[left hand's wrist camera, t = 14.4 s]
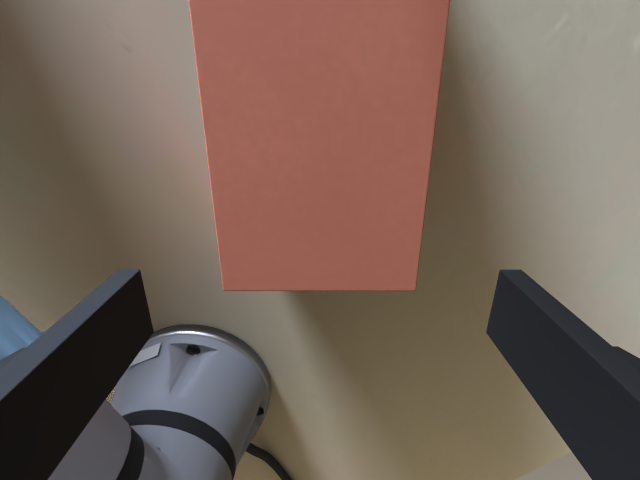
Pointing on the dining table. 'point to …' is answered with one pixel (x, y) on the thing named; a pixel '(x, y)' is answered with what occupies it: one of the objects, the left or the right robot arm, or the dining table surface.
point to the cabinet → (319, 138)
